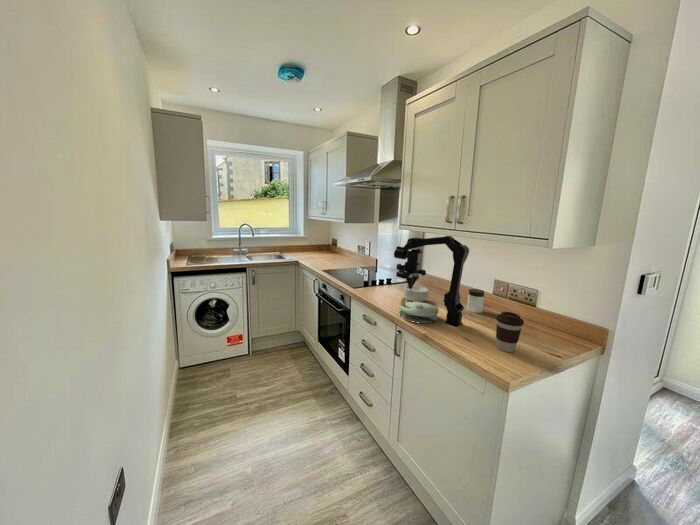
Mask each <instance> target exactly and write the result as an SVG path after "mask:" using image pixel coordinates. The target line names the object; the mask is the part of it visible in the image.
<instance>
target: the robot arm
mask: <svg viewBox="0 0 700 525" xmlns="http://www.w3.org/2000/svg"><path fill="white" fill-rule="evenodd" d="M433 245H446V246H447V248H448V249H449V250H450V251H451V252H452V259H453V268H452V273H451V280H450V284H449V285H450V286H449V290H448V291H447V292H446V293H444V294H443V295H444V297H443V301H442V302H443V303H444V306H445V308H446V312H447V313H446V319H445V321H444V323H445V324H448V325H451V326H454V327H459V326H462V325H463V324H464V323H463V322H462V320H463V311H464V309H465V307H464V305H463V304H462V303H461V295H460V288H461V281H462V276H463V271H464V270H463V269H464V264H465V262H466V261H467V259H468V257H469V253H470V248H469V247H468V246H467V245H466V244H462V243H461V242H460V241H458V240H457V239H455V237H453V236H452V235H445V236H436V237H430V238H429V237H427V238H424V237H410V238H408V239H407V242H406V244H405V245H404V246H398V245H397V246H396V248H395V250H394V253H393V257H394V258H395V259H400V260H406V259H407V260H406V261H405V262H404V264H401V263H398V264H396V270H397V272H396V274H395V275H396V276H395V277H397V278H400V279H406V283H407V286H409V289H411V288H412V287H413V285H415V284H416V282H417V280H418V279H419V278H420V276H419V275H421V276H426V275H427V271H426V269H422V268H418V266H419V265H420V262H419V254H423V251H422V250H421V248H422V247H426V246H433Z"/></svg>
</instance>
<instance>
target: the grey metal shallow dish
mask: <svg viewBox="0 0 700 525" xmlns="http://www.w3.org/2000/svg"><path fill="white" fill-rule="evenodd" d="M399 314H400V316H401V317H403V318H404V319H407V320H410V321H414V322H419V323H431V324H434V323H437V322H438V321H439V317H438V314H437V315H435V316H428V317H424V316H415V315H411V314H408V313H405V312H403V311H402V310H401V309H400V311H399ZM399 314H398V315H399ZM400 316H399V317H400ZM401 317H400V318H401ZM404 319H403V320H404Z"/></svg>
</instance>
